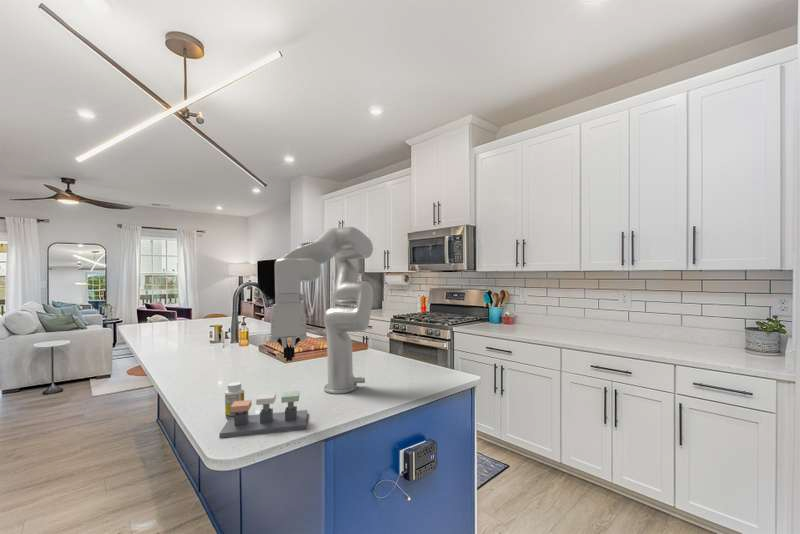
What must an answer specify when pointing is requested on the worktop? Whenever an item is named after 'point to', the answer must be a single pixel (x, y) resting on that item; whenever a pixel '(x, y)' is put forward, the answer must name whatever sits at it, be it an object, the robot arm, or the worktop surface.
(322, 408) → the worktop surface
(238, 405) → the key
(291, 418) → the keypad board
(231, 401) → the supplement bottle
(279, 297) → the robot arm
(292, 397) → the green key
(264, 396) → the key mid
